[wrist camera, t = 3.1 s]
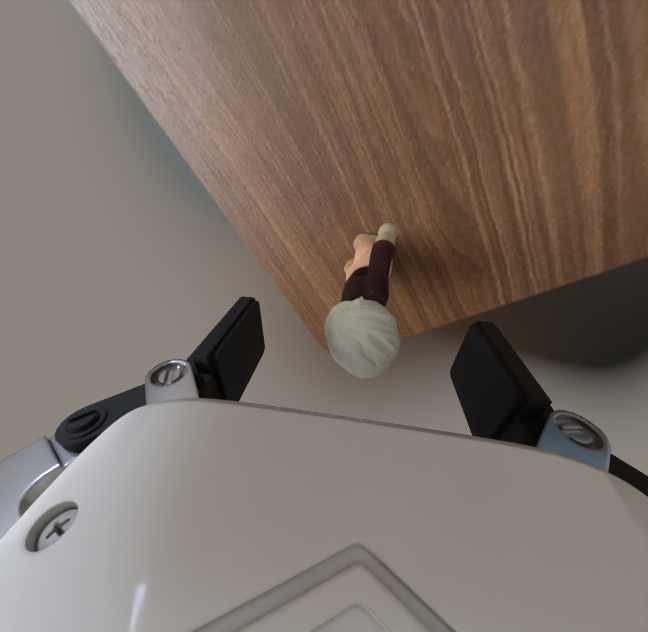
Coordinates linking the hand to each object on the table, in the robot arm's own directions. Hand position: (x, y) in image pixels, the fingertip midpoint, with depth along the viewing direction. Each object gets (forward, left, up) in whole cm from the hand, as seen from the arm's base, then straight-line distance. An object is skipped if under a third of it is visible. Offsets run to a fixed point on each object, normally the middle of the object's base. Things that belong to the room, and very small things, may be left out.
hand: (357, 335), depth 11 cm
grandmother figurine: (0, 0, -11) cm, 11 cm away
